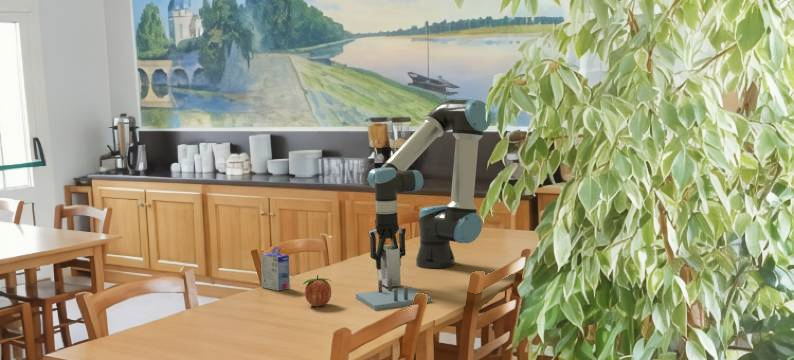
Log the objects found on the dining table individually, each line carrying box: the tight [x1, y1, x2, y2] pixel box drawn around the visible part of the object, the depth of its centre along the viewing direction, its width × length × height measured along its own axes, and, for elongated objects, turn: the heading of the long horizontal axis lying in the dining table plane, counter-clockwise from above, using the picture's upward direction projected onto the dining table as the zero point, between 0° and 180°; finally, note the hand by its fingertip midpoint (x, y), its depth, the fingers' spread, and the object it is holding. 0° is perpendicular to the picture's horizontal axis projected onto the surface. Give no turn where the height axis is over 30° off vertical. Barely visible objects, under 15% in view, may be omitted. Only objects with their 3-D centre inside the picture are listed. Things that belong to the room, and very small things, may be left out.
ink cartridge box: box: [260, 246, 291, 292], centre depth 299 cm, size 10×6×14 cm, turn 48°
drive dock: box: [355, 279, 432, 311], centre depth 278 cm, size 20×17×6 cm
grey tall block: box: [376, 244, 402, 288], centre depth 296 cm, size 5×9×13 cm, turn 23°
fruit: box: [302, 274, 332, 307], centre depth 274 cm, size 9×10×10 cm
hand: (388, 277), depth 297 cm, fingers closed on grey tall block, 5 cm apart
